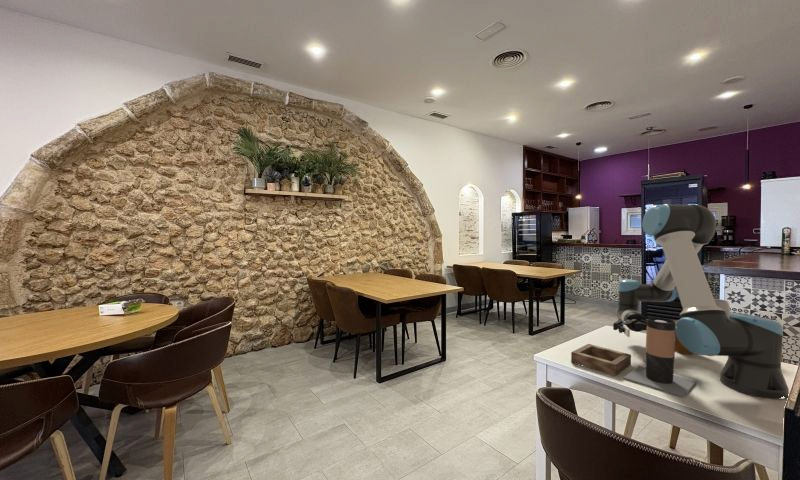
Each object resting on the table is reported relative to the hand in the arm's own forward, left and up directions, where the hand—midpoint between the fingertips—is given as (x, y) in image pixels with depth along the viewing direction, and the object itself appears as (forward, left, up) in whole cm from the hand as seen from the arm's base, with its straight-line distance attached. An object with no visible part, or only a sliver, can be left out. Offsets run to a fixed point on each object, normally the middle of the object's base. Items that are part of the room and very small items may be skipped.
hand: (650, 335), depth 120 cm
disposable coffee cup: (-3, -33, -13) cm, 35 cm away
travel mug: (-5, +8, -12) cm, 15 cm away
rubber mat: (-5, +8, -12) cm, 16 cm away
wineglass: (-11, -48, -13) cm, 50 cm away
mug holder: (+13, +8, -13) cm, 20 cm away
